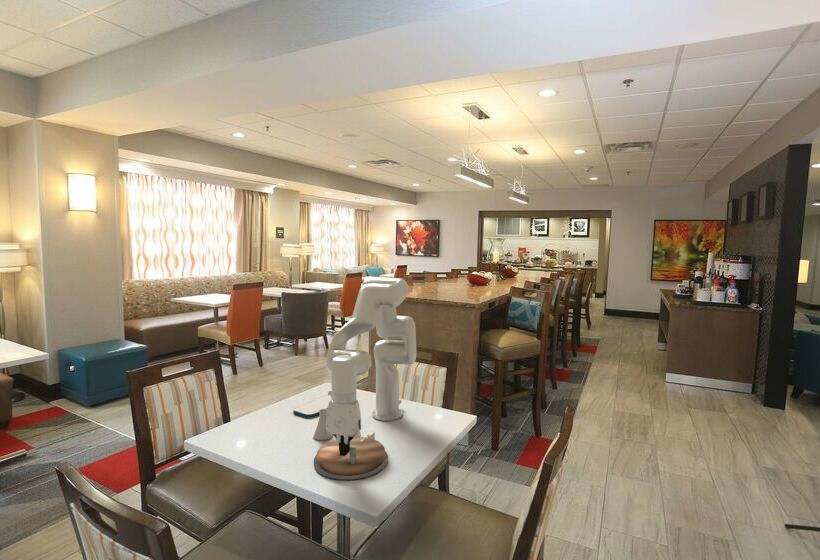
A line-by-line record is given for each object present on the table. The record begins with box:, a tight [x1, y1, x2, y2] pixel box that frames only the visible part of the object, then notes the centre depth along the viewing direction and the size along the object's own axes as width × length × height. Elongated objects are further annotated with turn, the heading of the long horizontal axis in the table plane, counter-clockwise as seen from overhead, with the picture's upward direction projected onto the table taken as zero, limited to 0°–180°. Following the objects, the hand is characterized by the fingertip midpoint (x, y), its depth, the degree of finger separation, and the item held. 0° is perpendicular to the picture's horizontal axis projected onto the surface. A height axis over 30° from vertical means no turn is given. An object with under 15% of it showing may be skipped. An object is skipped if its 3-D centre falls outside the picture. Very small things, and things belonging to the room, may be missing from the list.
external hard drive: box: [292, 394, 331, 419], centre depth 186 cm, size 24×12×2 cm, turn 147°
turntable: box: [316, 436, 386, 475], centre depth 140 cm, size 22×22×7 cm
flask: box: [313, 409, 334, 441], centre depth 158 cm, size 7×7×10 cm
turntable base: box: [313, 431, 389, 482], centre depth 141 cm, size 26×24×4 cm
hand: (344, 454), depth 133 cm, fingers closed
